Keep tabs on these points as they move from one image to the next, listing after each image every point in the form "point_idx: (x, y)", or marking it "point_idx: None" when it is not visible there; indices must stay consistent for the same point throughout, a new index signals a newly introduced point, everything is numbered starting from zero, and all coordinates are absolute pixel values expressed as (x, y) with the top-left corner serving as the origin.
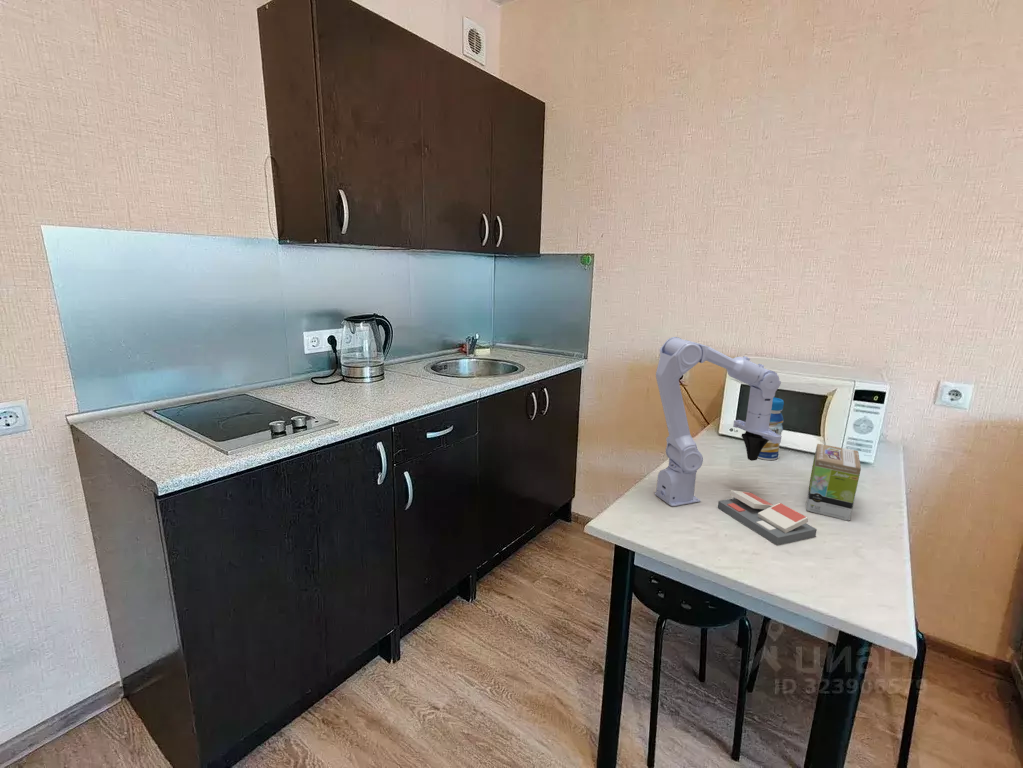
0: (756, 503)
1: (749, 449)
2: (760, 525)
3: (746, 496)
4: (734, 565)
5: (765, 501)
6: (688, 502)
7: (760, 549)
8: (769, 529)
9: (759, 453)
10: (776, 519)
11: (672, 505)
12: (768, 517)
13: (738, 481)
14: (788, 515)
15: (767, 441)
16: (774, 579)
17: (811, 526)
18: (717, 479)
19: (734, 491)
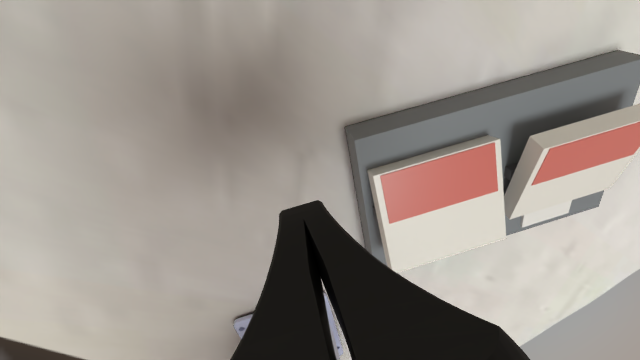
0: (500, 227)
1: (329, 332)
2: (536, 222)
3: (437, 232)
4: (572, 292)
5: (467, 161)
6: (334, 323)
7: (566, 233)
8: (566, 212)
9: (342, 229)
10: (572, 190)
11: (342, 352)
12: (546, 203)
13: (105, 79)
14: (601, 157)
15: (477, 324)
16: (636, 249)
17: (628, 63)
18: (99, 178)
19: (400, 263)
